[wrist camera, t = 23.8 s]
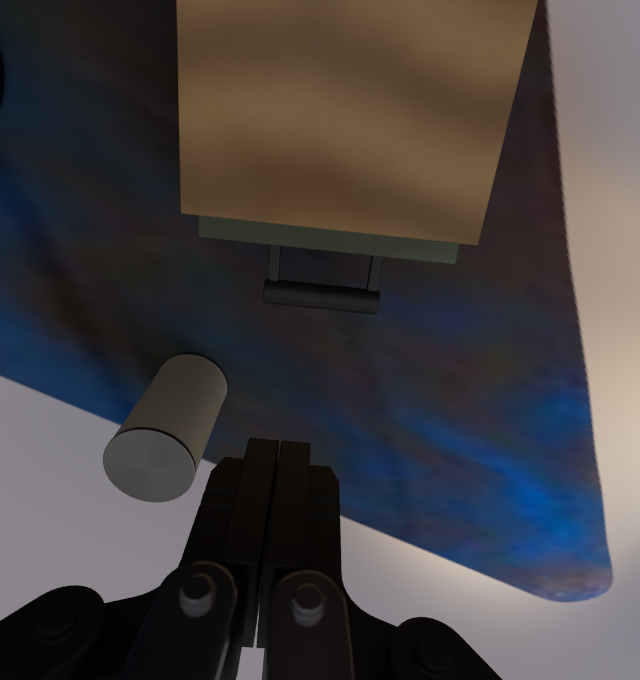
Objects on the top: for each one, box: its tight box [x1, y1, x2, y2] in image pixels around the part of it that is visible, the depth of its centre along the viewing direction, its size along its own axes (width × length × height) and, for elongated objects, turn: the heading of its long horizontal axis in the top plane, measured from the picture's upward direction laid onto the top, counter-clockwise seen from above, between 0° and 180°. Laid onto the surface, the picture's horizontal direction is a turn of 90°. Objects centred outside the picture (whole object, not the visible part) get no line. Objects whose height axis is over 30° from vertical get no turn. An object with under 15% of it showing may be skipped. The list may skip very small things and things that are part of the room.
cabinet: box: [176, 0, 538, 245], centre depth 24 cm, size 14×15×9 cm
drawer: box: [198, 215, 460, 314], centre depth 26 cm, size 17×14×7 cm
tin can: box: [103, 353, 227, 502], centre depth 33 cm, size 6×6×10 cm
